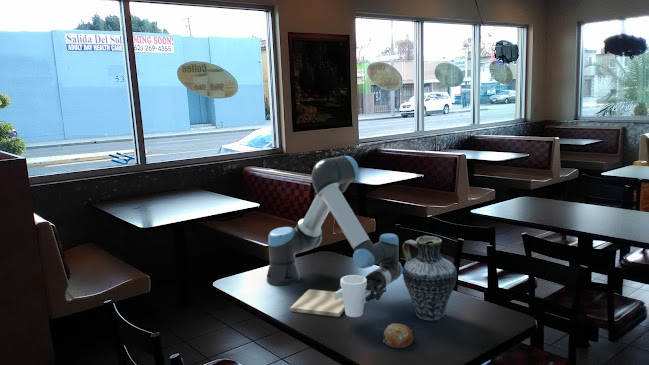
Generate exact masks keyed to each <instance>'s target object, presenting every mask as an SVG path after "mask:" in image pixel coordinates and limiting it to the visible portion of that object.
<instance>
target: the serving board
mask: <svg viewBox="0 0 649 365" xmlns="http://www.w3.org/2000/svg"><path fill="white" fill-rule="evenodd" d="M307 289H308V288H307ZM335 292H336V291H331V290H319V289H310V288H309V289H308V290H307V291H305V292H304V293H303V295H302V296H300V297H299V298H298V299H297V300H296V301H295V302H294V303H293V304H292V306H290V312H294V313H304V314H311V315H312V314H313V315H319V316H328V317H338V318H340V317H341V315H342V314H343V312H345V307H344V301H343V296H342V297H341V298H339V299H338V300H335Z"/></svg>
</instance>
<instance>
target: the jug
mask: <svg viewBox="0 0 649 365" xmlns="http://www.w3.org/2000/svg"><path fill="white" fill-rule="evenodd" d="M442 242H443V240H442V239H441V238H439V237H438V236H434V235H433V236H429V235H423V236H419V237H417V238H416V239H415V240H413V239H409V240H406V241H404V242H403V244H402V248H401V250H402V252H403V254H404V258H405V262H404V266H402V268H403V272H402V277H403V281H404V285H405V287H406V289H407V291H408V294H409V297H410V299H411V302H412V306H413V308H414V312H415V313H414V314H415V315H416V317H418V318H419V319H421V320H425V321H436V320H440V319H441V318H443V317H444V316H445V313H446V309H447V304H448V302H449V300H450V298H451V295H452V292H453V291H454V288H455V286H456V283H457V279H458V271H457V267H456V265H454V264H453V262H451V261H450V260H448V259H446V258H444V257H443V256H442V255H441V248H442V247H441V246H442ZM410 246H413V247H414V248H416V249H417V250H418V252H417V256H415V257H413V258H412V256H411V252H410Z"/></svg>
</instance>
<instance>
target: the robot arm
mask: <svg viewBox="0 0 649 365" xmlns="http://www.w3.org/2000/svg"><path fill="white" fill-rule="evenodd" d="M359 176H360V168H359V165H358V163H357V161H356V160H355V158H353V157H352V156H349V155H341V156H334V157H329V158H323V159H320V160H319V161H317V162H316V164H314V166H313V169H312V171H311V182H312V186H313V189H314V191H315V193H316V195H315V197H314V199H313V200H312V202H311V205H310V207H309V209H308V211H307V212H306V214H305V216H304V218H300V219H299V221H298V222H297V224H296V226H295V227H291V226H282V227H277V228H274V229H272V230H270V232H269V233H268V242H267V244H268V253H269V266H268V270H267V273H266V282H267V283H268V284H270V285H274V286H288V285H293V284H295V283H297V282H299V281H300V280H301V274H300V270H299V268H298V266H297V264H296V255H297V254H300V253H304V252H308V251H310V250H313V249H315V248H317V247H319V246H320V244H321V242H322V240H323V236H322V235H323V233H322V225H323V224H324V222H325V219H326V218H327V216H328V214H329V213H331V214H332V216H333V218H334V220H335V221H336V223H337V225H338V226H339V227H340V230H341V231H342V233H343V234H344V237H346V239H347V241H348V242H349V244H350V246H351V248H352V249H353V251H354V252H353V254H352V259H353V263H354V264H355V266H356V267H358V268H359V269H367V268H370V267H373V266H376V265H377V264H379V266H378V268H376V269H374V270H372V271H371V272H370V273H368V274H367V275H366V276H365V278H366V279H367V286H366V291H368V292H367V293H365V295H363V296H362V297H360V298H359V306H362V305H363V304H364V305H365V304H367V303H369V302H370V301H373V300H376V301H379V300H380V299H381V297H382V295H383V294H385V292H387V286H389V285H390V284H391V283H393V282H394V281H396V280H398V279H399V277H401V275H403V265H402V264H401V262H400V261H399V257H400V256H399V249H400V248H399V246H400V244H399V236H398V235H396V234H395V233H383V234H380V236H379V241H378V242H375V243H373V242H372V240H371V239H370V238H369V235H368V234H367V233H366V231H365V229H364V227H363V226H362V224H361V223H360V221H359V219H358V217H357V216H356V215H355V213H354V211H353V209H352V208H351V206H350V204H349V202H347V200H346V197H345V196H344V195H343V193H344V192H345V191H346V190H347V188H348V186H349V185H350V183H354V182H356V181H357V180H358V178H359ZM334 292H335V300H338V299H339V298H341V297H342V296H343V295H342V288H341V283H339V284H338V289H337V291H334Z"/></svg>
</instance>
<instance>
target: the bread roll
mask: <svg viewBox="0 0 649 365" xmlns="http://www.w3.org/2000/svg"><path fill="white" fill-rule="evenodd" d="M413 341H414V332H413V331H412V329H410V327H409V326H408V325H406V324H403V323H390V324H388V325H387V326H386V327H385V329H384V332H383V341H382V343H385V344H386V345H387V346H388V347H390V348H393V349H394V348H395V349H404V348H406V347H408V346H410V345H411V344H412V343H413Z"/></svg>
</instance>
